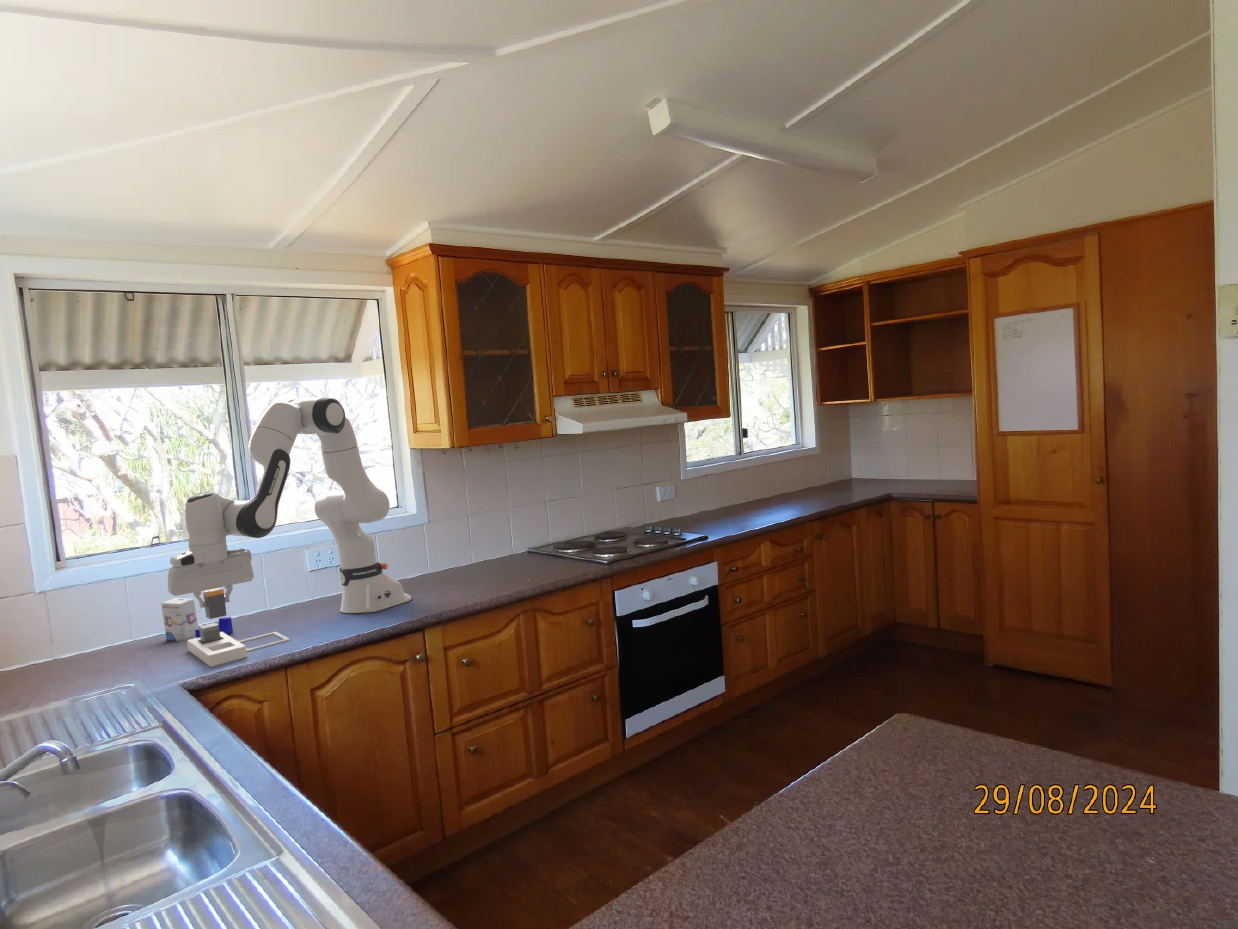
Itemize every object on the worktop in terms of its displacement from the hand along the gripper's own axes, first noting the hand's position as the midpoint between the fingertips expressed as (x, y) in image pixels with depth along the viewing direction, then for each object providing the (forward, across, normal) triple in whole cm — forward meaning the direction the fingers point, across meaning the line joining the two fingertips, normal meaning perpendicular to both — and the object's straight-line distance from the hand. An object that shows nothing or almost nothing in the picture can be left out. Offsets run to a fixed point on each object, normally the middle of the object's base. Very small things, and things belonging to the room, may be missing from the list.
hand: (214, 604), depth 205 cm
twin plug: (+14, 0, -10) cm, 18 cm away
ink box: (+16, +1, -36) cm, 39 cm away
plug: (+3, 0, 0) cm, 3 cm away
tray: (+15, -12, -5) cm, 20 cm away
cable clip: (+16, -4, -22) cm, 27 cm away
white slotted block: (+15, 0, -5) cm, 16 cm away
